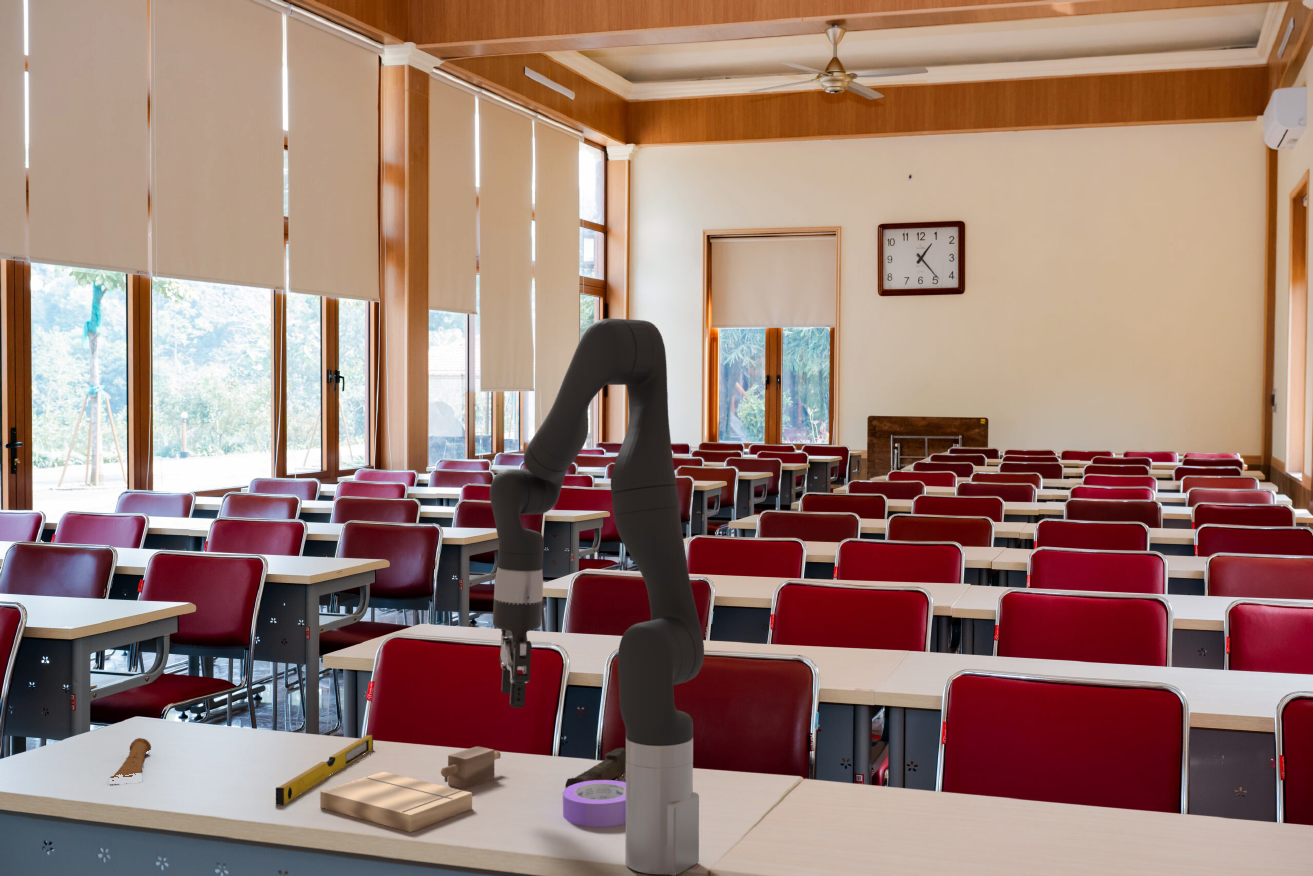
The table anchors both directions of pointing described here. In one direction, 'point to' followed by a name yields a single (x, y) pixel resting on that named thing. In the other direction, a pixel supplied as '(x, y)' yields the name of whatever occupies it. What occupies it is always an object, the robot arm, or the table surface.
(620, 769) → the hand tool
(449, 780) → the tan peg block
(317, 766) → the spirit level
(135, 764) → the primitive tool
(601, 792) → the masking tape
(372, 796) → the oak board
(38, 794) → the table surface
